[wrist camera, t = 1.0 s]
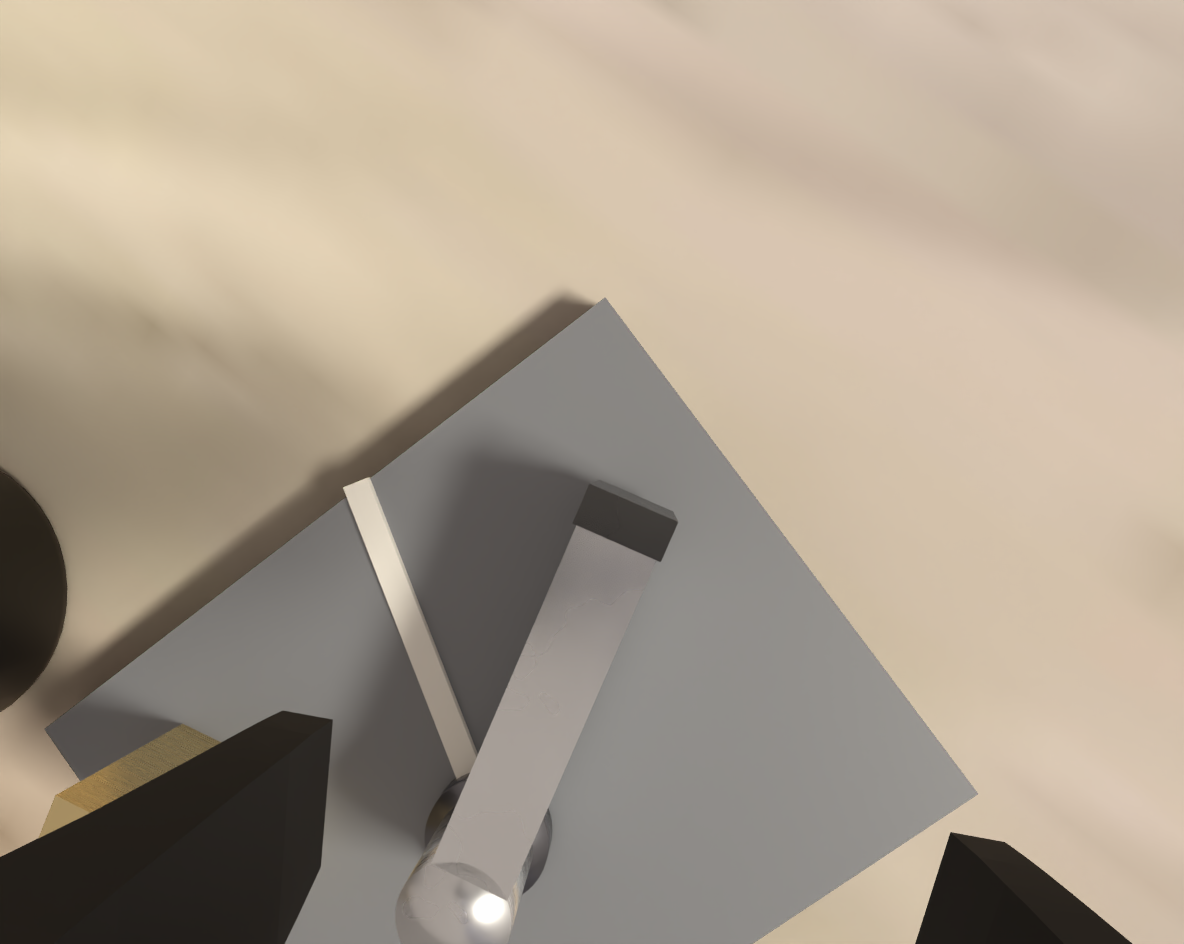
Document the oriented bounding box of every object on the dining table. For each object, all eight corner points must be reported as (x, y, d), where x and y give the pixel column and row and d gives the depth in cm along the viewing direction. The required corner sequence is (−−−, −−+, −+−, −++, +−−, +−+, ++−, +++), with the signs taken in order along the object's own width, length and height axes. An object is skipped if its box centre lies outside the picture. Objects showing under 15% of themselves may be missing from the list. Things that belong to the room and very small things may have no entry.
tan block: (297, 779, 21) (199, 867, 16) (260, 866, 21) (154, 978, 16) (182, 723, 21) (55, 795, 16) (147, 810, 21) (12, 904, 17)
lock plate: (954, 769, 20) (981, 797, 19) (388, 1148, 22) (366, 1205, 20) (603, 302, 21) (599, 289, 19) (80, 705, 23) (34, 725, 21)
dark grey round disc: (576, 843, 20) (573, 858, 19) (480, 909, 20) (473, 928, 19) (504, 743, 20) (498, 754, 19) (410, 810, 20) (400, 825, 20)
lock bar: (510, 911, 19) (482, 1001, 16) (420, 868, 19) (375, 948, 16) (683, 515, 19) (690, 527, 15) (589, 475, 19) (577, 478, 16)
